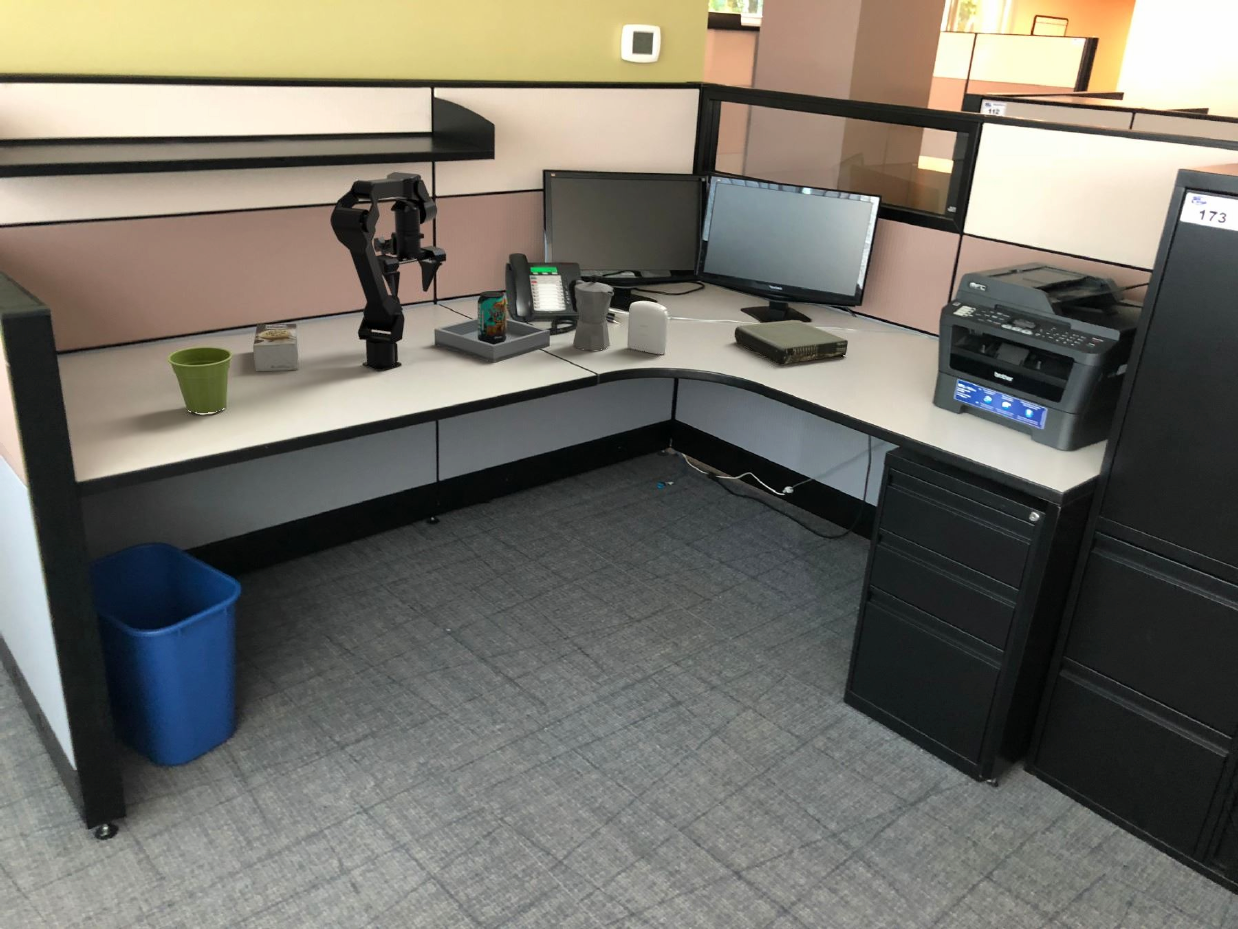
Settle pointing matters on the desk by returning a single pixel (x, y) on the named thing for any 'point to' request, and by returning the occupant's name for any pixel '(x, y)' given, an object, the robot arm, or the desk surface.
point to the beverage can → (492, 317)
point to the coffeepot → (591, 313)
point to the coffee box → (276, 347)
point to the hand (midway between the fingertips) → (410, 294)
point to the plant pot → (202, 377)
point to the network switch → (790, 341)
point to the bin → (516, 343)
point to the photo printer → (647, 327)
